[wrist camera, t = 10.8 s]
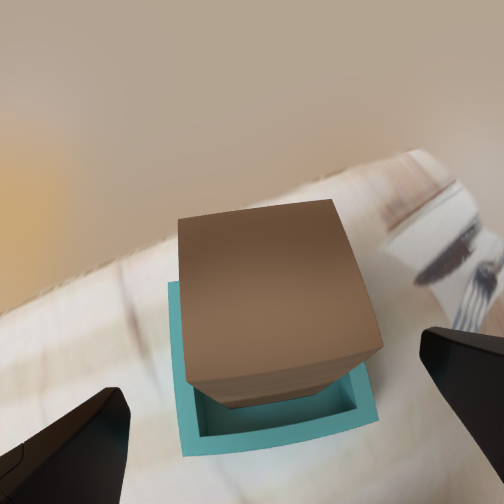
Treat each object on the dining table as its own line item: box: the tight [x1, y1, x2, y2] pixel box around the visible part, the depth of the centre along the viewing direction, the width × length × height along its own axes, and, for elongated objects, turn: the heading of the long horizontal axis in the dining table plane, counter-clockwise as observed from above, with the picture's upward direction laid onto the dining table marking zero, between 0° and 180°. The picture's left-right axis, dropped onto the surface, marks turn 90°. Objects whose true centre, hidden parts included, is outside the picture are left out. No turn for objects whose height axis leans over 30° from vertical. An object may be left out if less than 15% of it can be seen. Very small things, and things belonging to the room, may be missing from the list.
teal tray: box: [168, 281, 379, 457], centre depth 17 cm, size 10×10×4 cm
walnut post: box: [178, 199, 384, 409], centre depth 13 cm, size 5×5×11 cm
